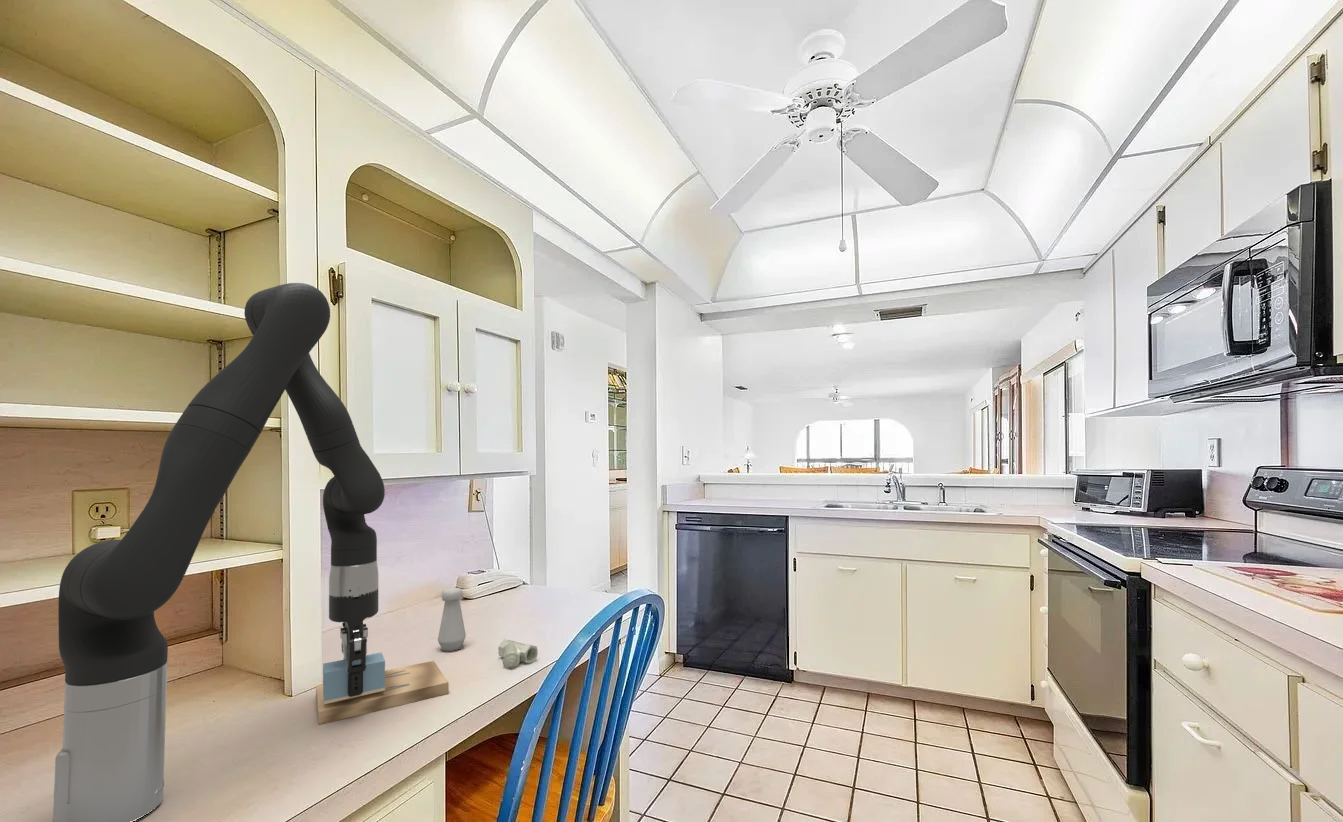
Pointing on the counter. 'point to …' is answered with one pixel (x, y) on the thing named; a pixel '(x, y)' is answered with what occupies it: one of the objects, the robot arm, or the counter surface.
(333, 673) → the block
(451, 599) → the salt shaker
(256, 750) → the counter surface
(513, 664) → the pipe fitting
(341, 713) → the oak board
